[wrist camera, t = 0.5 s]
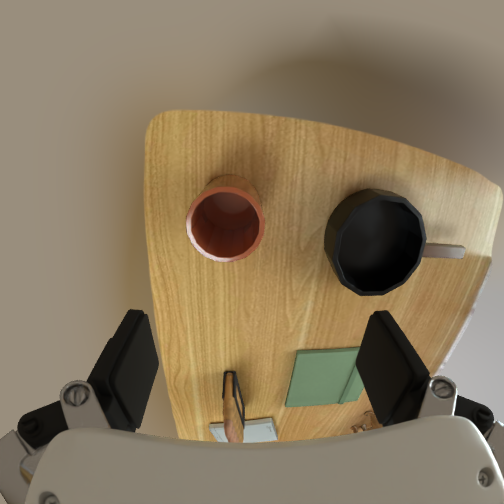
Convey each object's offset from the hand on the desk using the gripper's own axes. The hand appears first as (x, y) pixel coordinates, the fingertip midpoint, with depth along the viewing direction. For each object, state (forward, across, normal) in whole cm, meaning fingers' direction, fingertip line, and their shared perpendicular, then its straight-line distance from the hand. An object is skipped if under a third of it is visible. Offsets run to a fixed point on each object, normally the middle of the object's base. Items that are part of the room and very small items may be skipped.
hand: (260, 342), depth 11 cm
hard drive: (+21, 0, +44) cm, 49 cm away
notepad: (+21, -14, +28) cm, 38 cm away
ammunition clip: (+21, +2, +30) cm, 37 cm away
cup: (+21, +2, -1) cm, 21 cm away
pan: (+21, -19, +3) cm, 28 cm away
